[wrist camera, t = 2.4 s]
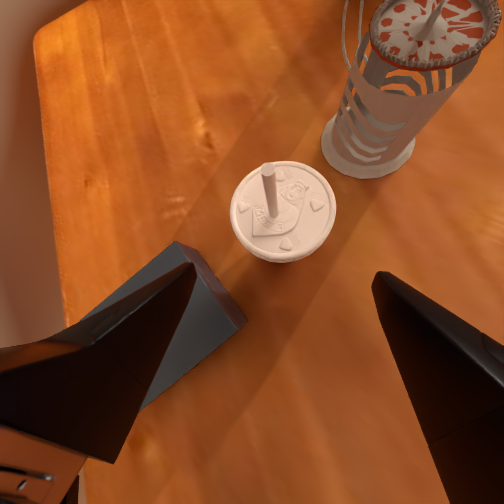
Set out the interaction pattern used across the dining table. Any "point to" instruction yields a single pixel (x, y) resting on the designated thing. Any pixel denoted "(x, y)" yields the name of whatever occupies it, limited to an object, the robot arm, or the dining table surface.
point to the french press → (403, 78)
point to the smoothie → (283, 211)
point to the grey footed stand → (185, 315)
